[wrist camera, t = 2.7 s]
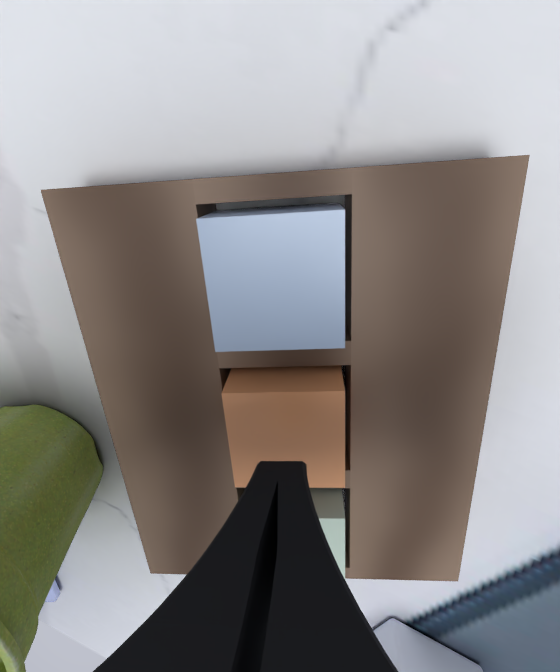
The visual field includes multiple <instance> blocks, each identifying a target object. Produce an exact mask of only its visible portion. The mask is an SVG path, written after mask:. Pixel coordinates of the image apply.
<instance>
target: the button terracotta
mask: <svg viewBox="0 0 560 672" xmlns="http://www.w3.org/2000/svg"><path fill="white" fill-rule="evenodd" d="M221 394H222V401H223V408H224V415H225V422H226V429H227V436H228V443H229V450H230V456H231V463H232V470H233V477H234V484H235V487H246V486H247V484H248V483H249V481H250V479H251V477H252V475H253V472H254V470H255V468H256V466H257V464H258V463H259V462H260V461H303V462H304V463H305V464H307V478H308V483H309V488H345V387H344V381H343V375H342V368H341V365H331V366H291V367H250V368H231V371H230V373H229V376H228V378H227V381H226V383H225V386H224V388H223V391H222V393H221Z"/></svg>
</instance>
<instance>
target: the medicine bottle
mask: <svg viewBox="0 0 560 672" xmlns="http://www.w3.org/2000/svg"><path fill="white" fill-rule="evenodd" d="M373 632H374V633H375V635H376V637H377V638H378V640H379V642H380V643H381V645H382V647H383V648H384V650H385V652H386V653H387V655H388V656H389V658H390V659H391V661H392V663H393V664H394V666H395V667H396V669H397V670H398V672H483V670H482V668H481V667H480V666H479V665H478V664H476V663H474V662H472V661H471V660H469V659H467V658H465V657H463V656H462V655H460V654H458V653H456V652H454V651H452V650H451V649H449V648H447V647H445V646H443V645H441V644H440V643H438V642H436V641H434V640H432V639H431V638H429V637H427V636H425V635H423V634H421V633H420V632H418V631H416V630H414V629H412V628H410V627H409V626H407V625H405V624H403V623H401V622H400V621H398V620H396V619H394V618H391V619H389V620H388V621H386V622H385V623H383V624H382V625H381V626H379V627H378V628H376V629H375V630H374V631H373Z"/></svg>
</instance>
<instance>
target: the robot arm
mask: <svg viewBox="0 0 560 672" xmlns="http://www.w3.org/2000/svg"><path fill="white" fill-rule="evenodd" d="M59 595H60V590H59V588H58V585H57V583H56V581H55V580H54V582H53V584H52V586H51V589H50V591H49V593H48V595H47V597H46V600H45V602H54V601H56V600H57V598H58V597H59ZM93 672H398V670H397V669H396V667H395V666H394V664H393V663H392V661H391V659H390V658H389V656H388V655H387V653H386V652H385V650H384V648H383V647H382V645H381V643H380V642H379V640H378V638H377V637H376V635H375V633H374V632H373V630H372V628H371V627H370V625H369V623H368V621H367V620H366V618H365V616H364V615H363V613H362V611H361V610H360V608H359V606H358V604H357V602H356V600H355V598H354V596H353V595H352V593H351V591H350V589H349V587H348V585H347V583H346V581H345V579H344V577H343V575H342V573H341V571H340V569H339V567H338V565H337V562H336V560H335V558H334V556H333V553H332V551H331V549H330V546H329V544H328V542H327V539H326V537H325V534H324V532H323V529H322V526H321V524H320V521H319V518H318V515H317V512H316V509H315V506H314V503H313V499H312V496H311V492H310V488H309V483H308V478H307V464H305V463H304V462H303V461H260V462H259V463H258V464H257V466H256V468H255V470H254V472H253V475H252V477H251V479H250V481H249V483H248V484H247V486H246V488H245V490H244V492H243V493H242V495H241V497H240V499H239V500H238V502H237V504H236V505H235V507H234V509H233V510H232V512H231V514H230V515H229V517H228V519H227V520H226V522H225V523H224V525H223V526H222V528H221V529H220V531H219V532H218V533H217V535H216V536H215V538H214V539H213V541H212V542H211V544H210V545H209V546H208V548H207V549H206V551H205V552H204V553H203V555H202V556H201V557H200V559H199V560H198V561H197V563H196V564H195V565H194V566H193V568H192V569H191V570H190V571H189V573H188V574H187V575H186V576H185V578H184V579H183V580H182V581H181V582H180V584H179V585H178V586H177V587H176V588H175V589H174V590H173V592H172V593H171V594H170V595H169V596H168V597H167V598H166V599H165V601H164V602H163V603H162V604H161V605H160V606H159V607H158V608H157V609H156V611H155V612H154V613H153V614H152V615H151V616H150V617H149V618H148V619H147V620H146V621H145V622H144V623H143V624H142V625H141V626H140V627H139V628H138V629H137V630H136V631H135V632H134V633H133V634H132V635H131V636H130V637H129V638H128V639H127V640H126V641H125V642H124V643H123V644H122V645H121V646H120V647H119V648H118V649H117V650H116V651H115V652H114V653H113V654H112V655H111V656H109V657H108V658H107V659H106V660H105V661H104V662H103V663H102V664H101V665H100V666H99V667H97V668H96V669H95V670H94V671H93Z"/></svg>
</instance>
